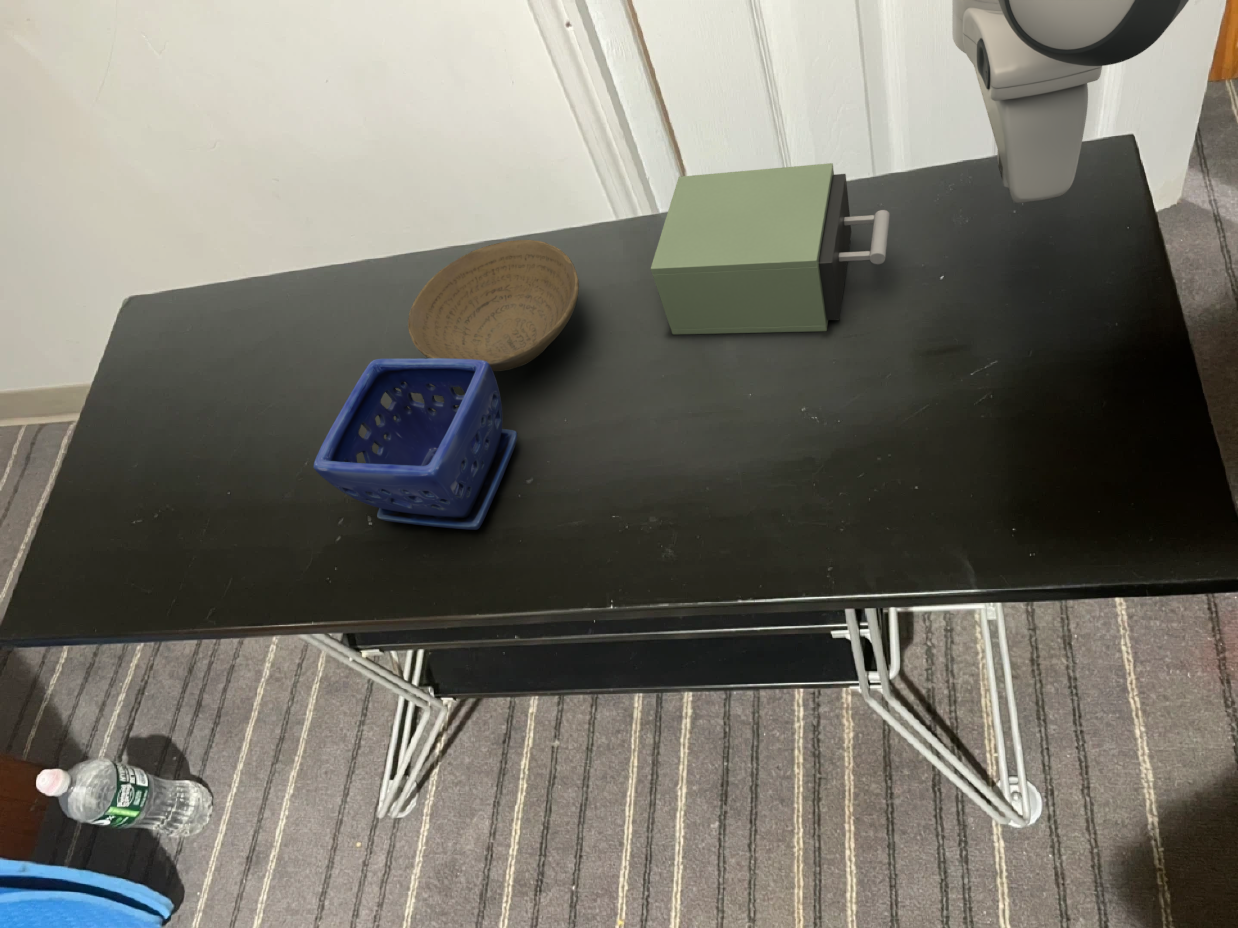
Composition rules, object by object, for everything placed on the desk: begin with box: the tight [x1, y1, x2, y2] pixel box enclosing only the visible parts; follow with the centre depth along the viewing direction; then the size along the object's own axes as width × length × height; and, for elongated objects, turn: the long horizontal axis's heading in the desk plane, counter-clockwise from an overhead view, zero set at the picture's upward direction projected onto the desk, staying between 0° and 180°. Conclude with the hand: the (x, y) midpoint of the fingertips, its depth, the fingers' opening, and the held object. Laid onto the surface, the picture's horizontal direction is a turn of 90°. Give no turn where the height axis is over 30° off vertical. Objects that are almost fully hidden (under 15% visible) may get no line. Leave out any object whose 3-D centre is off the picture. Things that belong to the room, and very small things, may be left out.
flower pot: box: [313, 357, 518, 531], centre depth 83 cm, size 13×13×12 cm
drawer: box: [819, 173, 891, 321], centre depth 87 cm, size 19×12×7 cm, turn 76°
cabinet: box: [650, 162, 835, 335], centre depth 89 cm, size 16×14×9 cm
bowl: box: [407, 239, 580, 372], centre depth 94 cm, size 18×18×8 cm
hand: (1012, 175), depth 70 cm, fingers closed
